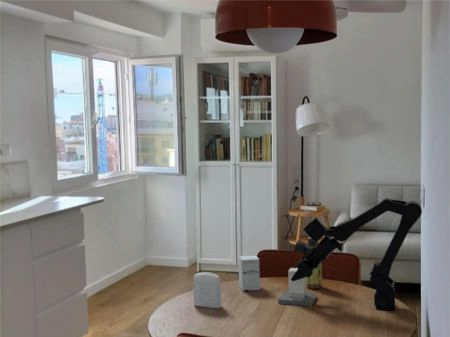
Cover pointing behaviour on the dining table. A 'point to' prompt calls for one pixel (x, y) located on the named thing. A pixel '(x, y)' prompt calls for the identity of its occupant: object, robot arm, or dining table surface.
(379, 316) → the dining table surface
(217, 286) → the white arched block
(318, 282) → the sauce bottle
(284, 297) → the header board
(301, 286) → the white rectangular block
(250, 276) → the supplement box
